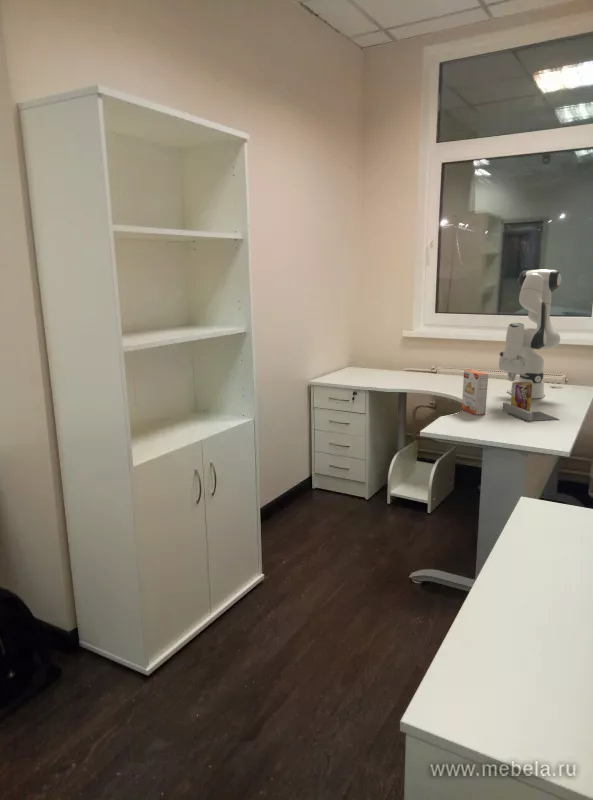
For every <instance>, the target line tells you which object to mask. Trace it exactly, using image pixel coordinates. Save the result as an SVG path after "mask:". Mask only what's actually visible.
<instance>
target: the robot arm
mask: <svg viewBox="0 0 593 800" xmlns="http://www.w3.org/2000/svg"><path fill="white" fill-rule="evenodd" d="M517 283H518V287H519V288H520V292H519V297H518V301H519V304H520V306H521V307H522V308H524V309H525V310H526V311H528V313H527V316H528V319H529V320H530V321H531V322H533V323H535V324H536V328H528V327H525V325H524V323H521V322H512V323H510V324H508V327H507V331H506V335H505V348H504V350H503V351H500V352H499V359H498V369H499V370H501V371H504V372H507V376H508V379H507V380H508V381H510V382H530V383H532V393H531V399H543V398H544V397H546V393H545V382H544V381H543V379H544V363H545V361H544V358H543V357H542V356H541V355H539V354H538V353H537V352H536V351H535V350H541V349H543V350H550V349H556V348H557V347H558V346H559V344H560V341H561V335H560V333H559V332H558V331H557V330H556V329H555V328H554V327H553V325H552V323H551V317H550V316H551V307H552V293H553V292H554V291H555V290H557V289H558V288H559V286H560V285H561V283H562V275H561V272H560V271H559V270H556V269H546V268H545V269H544V268H541V269H530V270H529V269H528V270H522V271H521V272H520V273H519V276H518V280H517ZM517 375H519V377H518V378H517V379H516V377H517ZM515 379H516V380H515ZM506 393H508V394H510V395H511V396H512V387H511V389H507V390H506Z"/></svg>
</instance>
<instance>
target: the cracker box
mask: <svg viewBox="0 0 593 800" xmlns="http://www.w3.org/2000/svg"><path fill="white" fill-rule="evenodd" d="M488 382H489V374H488V373H486V372H483V371H479V370H476V369H463V379H462V383H463V384H462V398H461V399H462V400H461V409H462V410H464V411H466V412H468V413H470V414H472V415H474V414H475V416H482V415H486V411H487V410H486V409H487V398H488V396H487V395H488Z"/></svg>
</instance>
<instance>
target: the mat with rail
mask: <svg viewBox="0 0 593 800" xmlns="http://www.w3.org/2000/svg"><path fill="white" fill-rule="evenodd" d="M502 410H503V412H505V413H507V415H508V416H511V415H512V416H511V417H514V418H516V419H518V418H519V420H521V421H523V420H524V421H523V422H526V421H528V422H545V421H546V420H548V421H560V418H558V417H555V416H552V415H550V414H546V413H544V412H542V411H530V412H529V411H526V410H524V409H521V408H519V407H516V406H513V405H511V403H508V402H503V403H502Z"/></svg>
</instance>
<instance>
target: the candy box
mask: <svg viewBox="0 0 593 800" xmlns="http://www.w3.org/2000/svg"><path fill="white" fill-rule="evenodd" d="M511 382H512V383H511V388H512V395H511V398H510V404H511V405H513V406H516V407H519V408H521V409H524V410H526V411H529V412H531V404H532V398H531V393H532V383H530V382H514V381H511Z"/></svg>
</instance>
